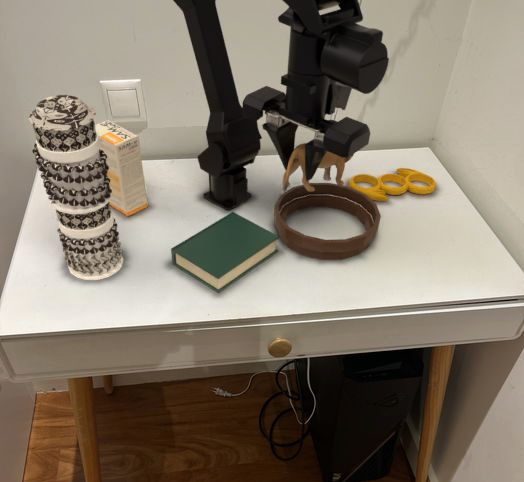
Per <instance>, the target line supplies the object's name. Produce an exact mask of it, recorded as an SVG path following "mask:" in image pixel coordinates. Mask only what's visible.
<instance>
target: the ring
mask: <svg viewBox="0 0 524 482" xmlns="http://www.w3.org/2000/svg"><path fill="white" fill-rule="evenodd" d="M309 185H310V186H313V187H314V188H315V191H313V192H310V191H307V190H306V188H305V186H304V185H303V184H300V185H295V186H292V187H290V188H289V189H287V190H286V191H283V192H282V193H281V194H280V195H279V197H278V198H277V200H276V201H275V203H274V206H273V219H274V226H275V228H276V229H277V232H278V233H277V234H278V236H279V239H280V240H281V241H282V242H283V243H284V244H285V246H286V247H287V248H289V249H290V250H293V251H295V252H296V253H298V254H299V255H302V256H305V257H309V258H313V259H317V260H322V261H323V260H324V261H325V260H329V261H330V260H331V261H332V260H345V259H348V258H351V257H355V256H357V255H358V256H359V255H360V254H361V253H362V252H363V251H364V250H366V249H367V248H368V247H369V246H370V244H371V241H372V240H374V239H375V238H376V235H377V233H378V230H379V226H380V221H381V217H382V215H381V213H380V210H379V207H378V204H377V203H376V202H375V201H374V200H371V199H370V198H369V197H368V196H367V195H366V194H364V193H362V192H359V191H357V190H355V189H353V188H351V187H349V185H337V184H336V183H332V182H309ZM308 208H331V209H335V210H340V211H343V212H345V213H348V214H349V215H351V216H353V217H355V218H356V219H357V220H358V221H360V222H361V223H362V224H363V226H364V229H365V231H364V232H363V233H362V234H359V235H356V236H352V237H348V238H345V239H341V238H340V239H324V238H319V237H316V236H311V235H306V234H304V233H301V232H300V231H298V230H296V229H295V228H293V227H291V226H289V224H288V223H286V219H287V218H288V217H289V216H291V215H292V214H294V213H295V212H297V211H301V210H304V209H308Z"/></svg>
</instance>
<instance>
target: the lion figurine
mask: <svg viewBox="0 0 524 482" xmlns="http://www.w3.org/2000/svg"><path fill="white" fill-rule="evenodd" d="M306 143H307V142H304V143H300V144H298V145H296V146H295V147H294V151H293V153H292V154H291V157H290V159H289V163H288V167H287V170H284V173H283V174H282V175H283V177H282V182H281V186H282V187H283V188H282V189H281V191H282V192H286V191H287V190H288V188H289V189H290V188H291V183H290V177H291V176H292V175H293V174H294V173H295V172H296V171H297V170H298V169H299V167H300V169H301V173H302V178H301V183H302V185H304V186H305V188H306V190H307V191H310V192H313V191H315V188H314V187H313V186H310V185H309V183H310V180H309V181H307V180H306V175H305V144H306ZM354 155H355V153H354V154H353V155H351V156H350V157H343V158H342V157H340V156H338V155H335V154H333V153H330V152H328V151H327V152H326V154H325V155H324V157H323V159H322V161H321V163H320V165H319V167H318V168H317V169H324V171H323V172H324V173H323V177H322V179H323V181H326V182H329V181H331V180H332V177H331V170H332V169H331V168H332V166H335V168H336V176H335V184H337V185H343V186H345V181H343V180H342V178H343V176H344V175H343V174H344V171H345V169H346V168H345V167H346V163H348V162H349V161H350V160H352V158H353V157H354Z"/></svg>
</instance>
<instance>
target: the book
mask: <svg viewBox="0 0 524 482" xmlns="http://www.w3.org/2000/svg"><path fill="white" fill-rule="evenodd" d="M279 239H280V237H279V235H277V234H276V233H273V232H272V231H270V230H268V229H266V228H264V227H263V226H261V225H259V224H257V223H255V222H253V221H251V220H249V219H248V218H246V217H244V216H242V215H240V214H238V213H237V212H234V211H232V212H230V213H228V214H227V215H225V216H223V217H221V218H220V219H218V220H217V221H215V222H213V223H211V224H210V225H207V227H205V228H203V229H202V230H200V231H197V232H196V233H195V234H193V235H192V236H189V237H188V238H186V239H185V240H183V241H182V242H179V243H178V244H177V245H175V246H173V247H171V248H170V255H171V263H172V265H173V266H174V267H176V268H178V269H179V270H180V271H182V272H184V273H186V274H188V275H189V276H191V277H192V278H194V279H195V280H197V281H198V282H200V283H202V284H203V285H205V286H206V287H208V288H209V289H211V290H212V291H214V292H216V293H218V294H220V293H222V292H223V291H224V290H226V289H227V288H228V287H230V286H231V285H233V284H234V283H236V282H237V281H239V280H240V279H241V278H243V277H244V276H245V275H247V274H248V273H250V272H251V271H253V270H254V269H255V268H257V267H258V266H260V265H261V264H263V263H264V262H266V261H267V260H268V259H270V258H271V257H273V256H274V255H276V254H277V253H278V252H279V249H277V240H279Z"/></svg>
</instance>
